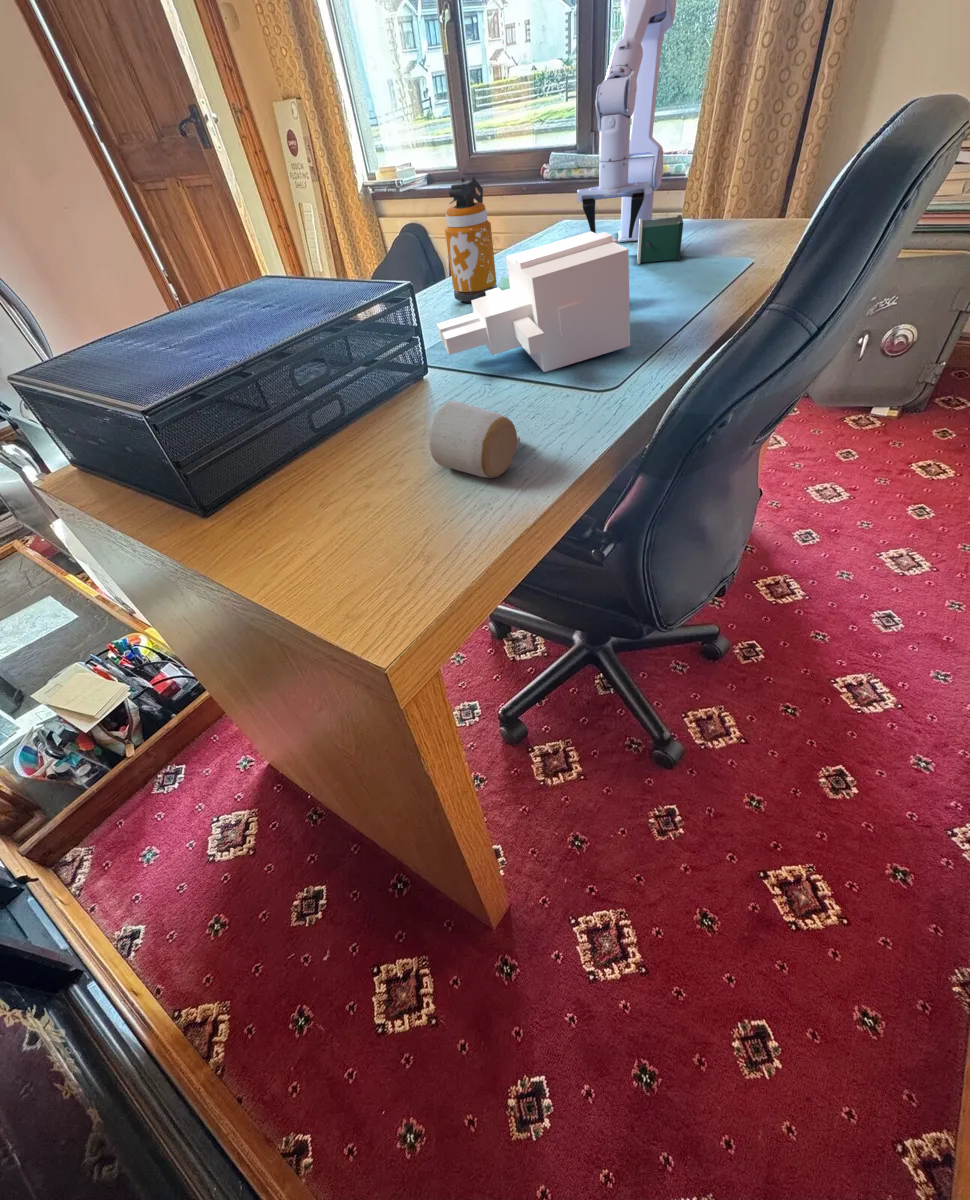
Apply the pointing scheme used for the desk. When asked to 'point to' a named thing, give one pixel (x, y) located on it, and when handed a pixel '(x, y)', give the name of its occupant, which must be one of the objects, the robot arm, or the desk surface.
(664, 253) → the green and cream block
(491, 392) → the desk surface
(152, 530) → the desk surface
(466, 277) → the canister
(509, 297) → the blocky voxel creature
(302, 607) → the desk surface
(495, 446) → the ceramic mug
